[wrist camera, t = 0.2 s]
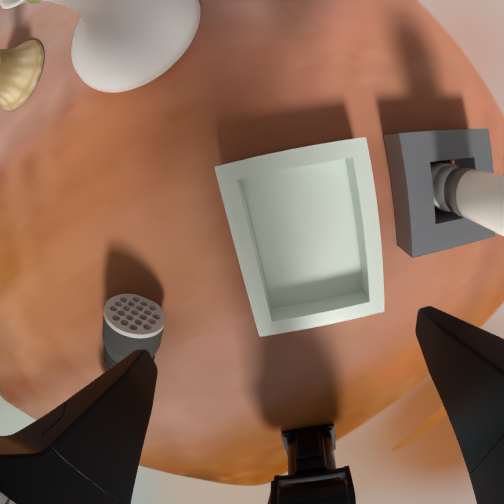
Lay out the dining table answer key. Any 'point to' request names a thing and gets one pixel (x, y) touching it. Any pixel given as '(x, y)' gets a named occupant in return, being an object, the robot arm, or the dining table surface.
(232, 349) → the dining table surface
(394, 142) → the socket block
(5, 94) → the hand bell
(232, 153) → the dining table surface
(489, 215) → the frosted bulb
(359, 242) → the parts tray
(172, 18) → the flower in vase
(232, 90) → the dining table surface
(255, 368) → the dining table surface
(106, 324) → the flashlight
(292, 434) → the robot arm
